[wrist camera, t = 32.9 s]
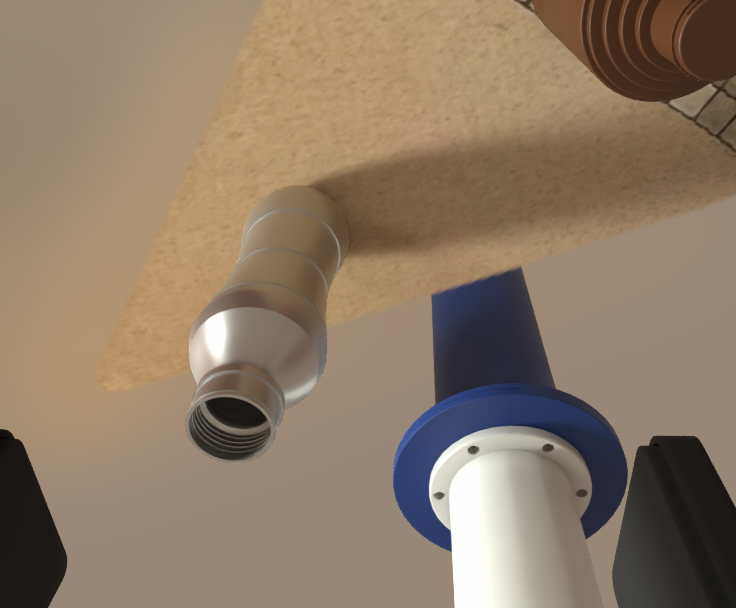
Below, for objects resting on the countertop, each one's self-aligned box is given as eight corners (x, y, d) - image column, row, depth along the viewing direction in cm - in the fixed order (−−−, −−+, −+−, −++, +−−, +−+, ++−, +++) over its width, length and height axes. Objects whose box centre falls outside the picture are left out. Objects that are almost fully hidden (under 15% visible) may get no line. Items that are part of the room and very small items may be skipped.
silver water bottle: (231, 226, 44) (116, 433, 27) (295, 153, 42) (211, 331, 25) (307, 285, 46) (244, 512, 29) (373, 219, 44) (346, 427, 26)
